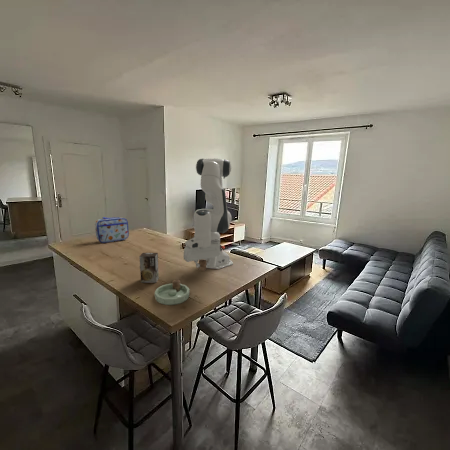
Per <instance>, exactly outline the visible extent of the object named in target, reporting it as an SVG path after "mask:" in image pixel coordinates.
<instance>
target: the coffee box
mask: <svg viewBox="0 0 450 450" xmlns="http://www.w3.org/2000/svg"><path fill="white" fill-rule="evenodd" d="M139 270H140V271H139V272H140V283H153V284H154V283H157V282H158V280H159V278H160V277H159V275H160V274H159V255H158V252H142V253H141V254H140V255H139Z"/></svg>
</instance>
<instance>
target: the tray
mask: <svg viewBox="0 0 450 450" xmlns="http://www.w3.org/2000/svg"><path fill="white" fill-rule="evenodd" d="M190 291H191V289H190V288H189V286H187V285H186V284H182V283H180V291H179V292H176V289H173V286H172V283H166V284H162V285H161V286H159V287H157V288H156V289H155V291H154V298H155V301H156V302H157V303H159V304H161V305H166V306H174V305H180V304H182V303H185V302H187V300H188V299H189V297H190Z"/></svg>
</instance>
